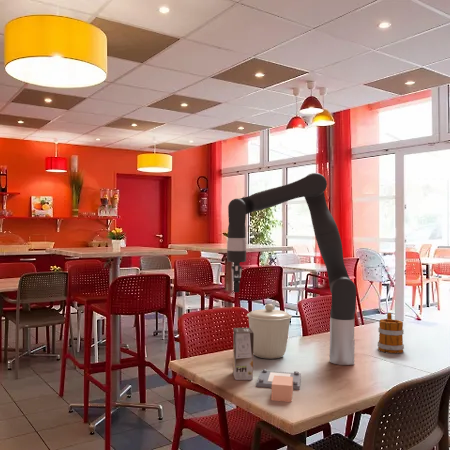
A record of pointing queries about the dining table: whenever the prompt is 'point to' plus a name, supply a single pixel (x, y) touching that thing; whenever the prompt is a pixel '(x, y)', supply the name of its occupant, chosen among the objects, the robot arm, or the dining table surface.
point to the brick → (282, 388)
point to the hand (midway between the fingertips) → (236, 290)
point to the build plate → (267, 376)
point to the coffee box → (243, 353)
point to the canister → (269, 331)
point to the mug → (390, 335)
